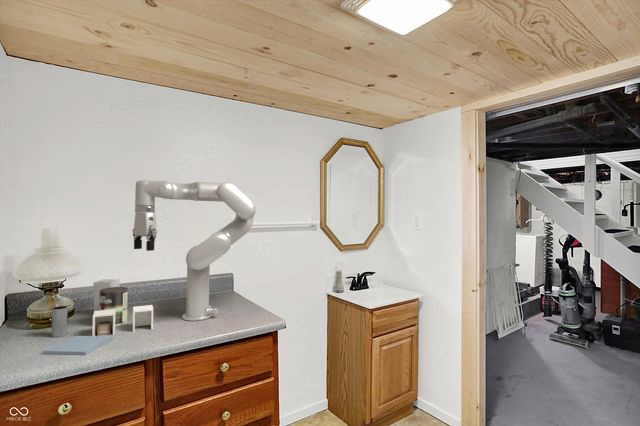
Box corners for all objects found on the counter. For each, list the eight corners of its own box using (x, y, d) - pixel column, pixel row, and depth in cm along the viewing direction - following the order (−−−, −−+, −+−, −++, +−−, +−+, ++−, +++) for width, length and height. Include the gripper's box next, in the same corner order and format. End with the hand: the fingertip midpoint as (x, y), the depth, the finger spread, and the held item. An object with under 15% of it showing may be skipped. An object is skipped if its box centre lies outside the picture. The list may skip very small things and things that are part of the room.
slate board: (112, 339, 125) (112, 336, 125) (85, 354, 111) (85, 351, 111) (74, 338, 125) (74, 335, 125) (42, 353, 111) (42, 350, 111)
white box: (94, 331, 132) (94, 311, 132) (115, 329, 136) (115, 308, 136) (92, 337, 126) (92, 315, 126) (114, 334, 129) (115, 313, 129)
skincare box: (120, 313, 157) (121, 279, 157) (110, 317, 150) (110, 282, 150) (103, 312, 158) (103, 278, 158) (92, 316, 151) (93, 281, 151)
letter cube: (98, 332, 132) (98, 322, 132) (110, 331, 134) (110, 320, 134) (97, 336, 128) (97, 325, 128) (110, 334, 130) (110, 323, 130)
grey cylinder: (54, 338, 125) (55, 309, 125) (49, 335, 127) (50, 307, 127) (69, 334, 129) (69, 307, 129) (63, 332, 131) (64, 305, 131)
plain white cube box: (132, 326, 139) (133, 306, 139) (152, 324, 142) (152, 304, 142) (132, 331, 133) (133, 311, 133) (152, 329, 136) (153, 308, 136)
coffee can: (111, 328, 136) (111, 292, 136) (92, 325, 140) (93, 290, 140) (133, 321, 146) (133, 287, 146) (115, 318, 149) (116, 285, 150)
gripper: (164, 210, 145) (163, 250, 145) (142, 209, 155) (141, 247, 155) (147, 209, 139) (146, 251, 139) (125, 209, 149) (124, 248, 149)
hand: (143, 249), depth 147 cm, fingers open, 9 cm apart
